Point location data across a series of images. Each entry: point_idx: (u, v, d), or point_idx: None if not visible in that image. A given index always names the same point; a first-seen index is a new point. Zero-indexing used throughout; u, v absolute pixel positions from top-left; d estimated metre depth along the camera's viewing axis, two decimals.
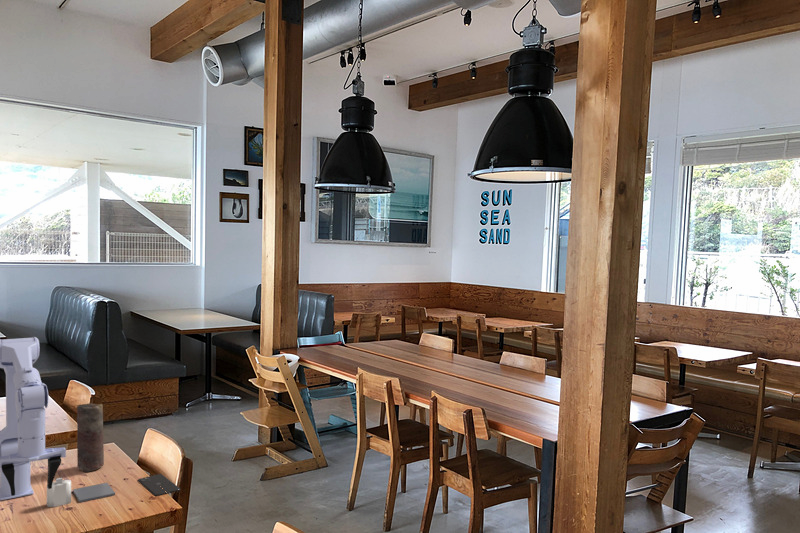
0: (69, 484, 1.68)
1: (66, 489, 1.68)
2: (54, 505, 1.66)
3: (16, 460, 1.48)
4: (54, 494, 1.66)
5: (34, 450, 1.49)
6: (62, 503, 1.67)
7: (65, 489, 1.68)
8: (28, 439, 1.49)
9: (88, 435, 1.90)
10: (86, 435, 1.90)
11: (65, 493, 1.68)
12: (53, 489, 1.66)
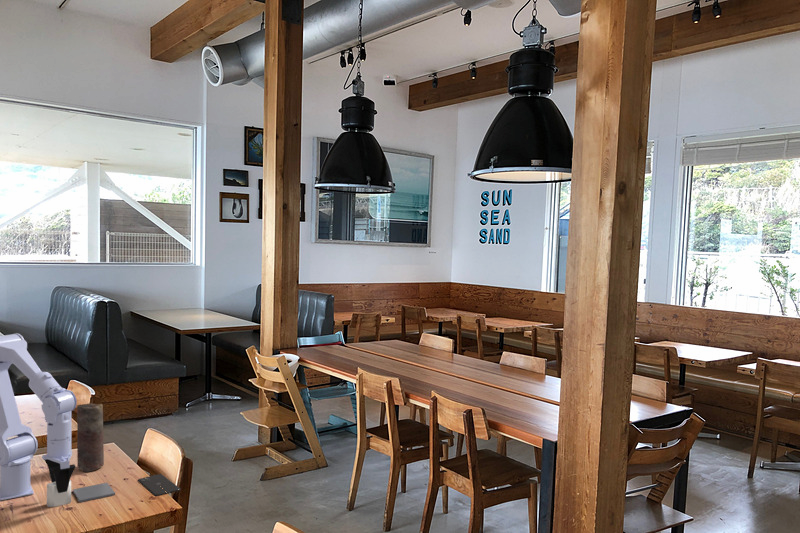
0: (69, 484, 1.68)
1: None
2: (54, 505, 1.66)
3: None
4: (54, 494, 1.66)
5: (47, 450, 1.65)
6: (62, 503, 1.67)
7: None
8: (47, 438, 1.66)
9: (88, 435, 1.90)
10: (86, 435, 1.90)
11: (65, 493, 1.68)
12: (53, 489, 1.66)
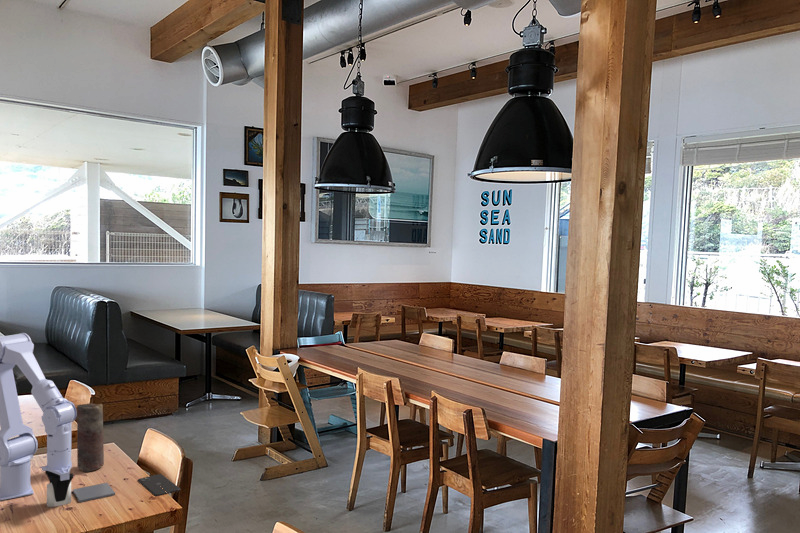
0: (69, 484, 1.68)
1: None
2: (54, 505, 1.66)
3: None
4: None
5: (47, 462, 1.65)
6: (62, 503, 1.67)
7: None
8: (47, 449, 1.66)
9: (88, 435, 1.90)
10: (86, 435, 1.90)
11: None
12: (53, 489, 1.66)
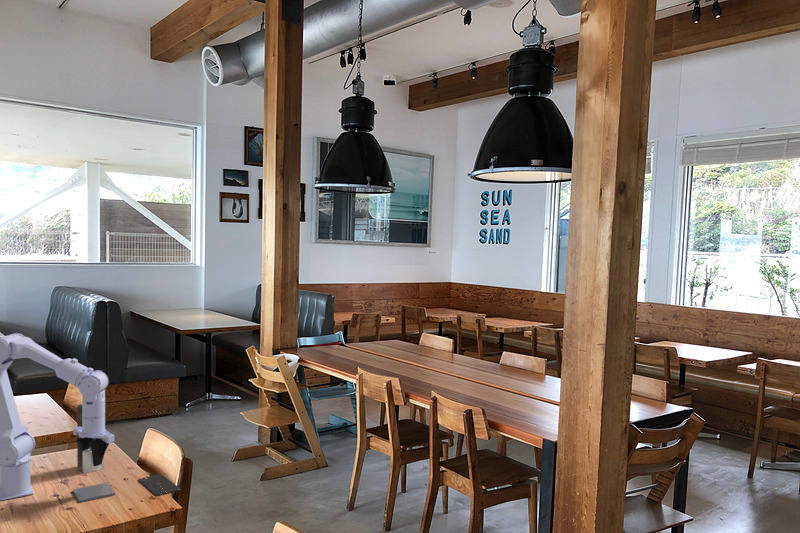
0: None
1: None
2: (92, 470, 1.73)
3: (79, 433, 1.74)
4: (92, 459, 1.73)
5: (85, 429, 1.72)
6: (98, 468, 1.75)
7: None
8: (82, 417, 1.72)
9: None
10: None
11: None
12: (91, 455, 1.72)
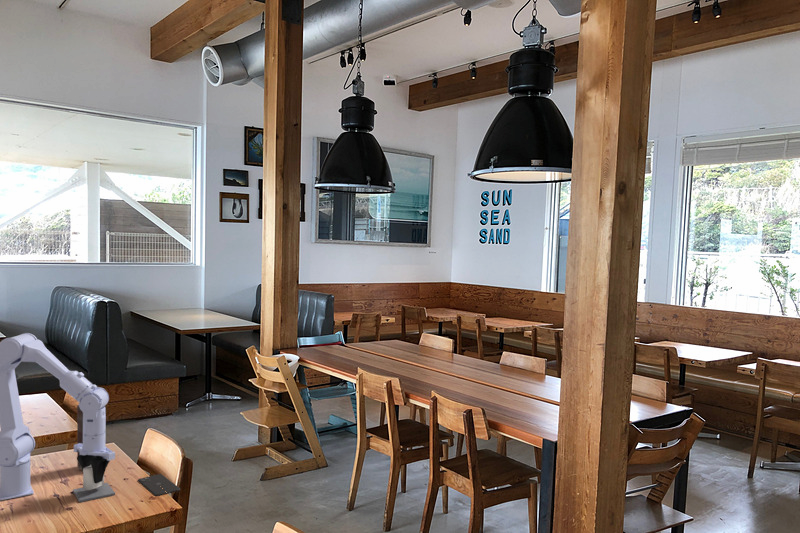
0: None
1: None
2: (93, 487, 1.73)
3: (79, 450, 1.74)
4: None
5: (86, 446, 1.72)
6: (99, 485, 1.75)
7: None
8: (83, 435, 1.72)
9: None
10: None
11: None
12: (92, 472, 1.73)
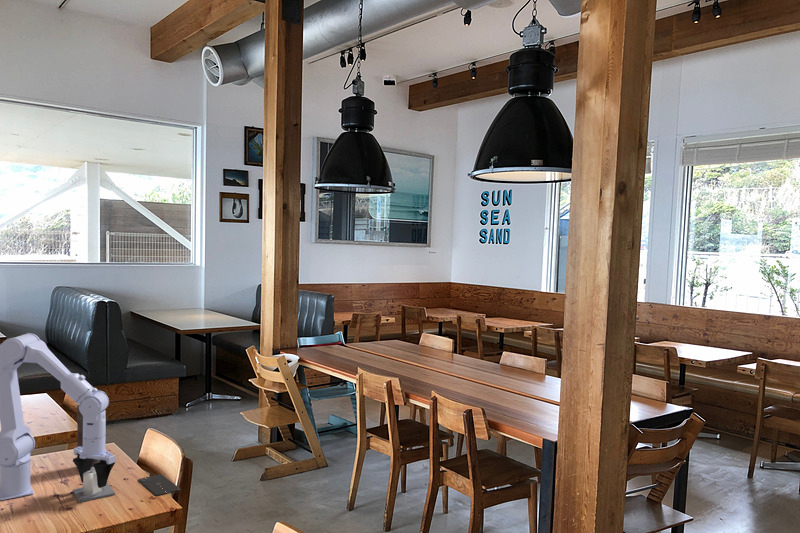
0: None
1: None
2: (92, 492, 1.73)
3: (79, 453, 1.74)
4: (93, 481, 1.73)
5: (86, 449, 1.72)
6: (99, 490, 1.75)
7: None
8: (83, 438, 1.73)
9: None
10: None
11: None
12: (92, 477, 1.73)
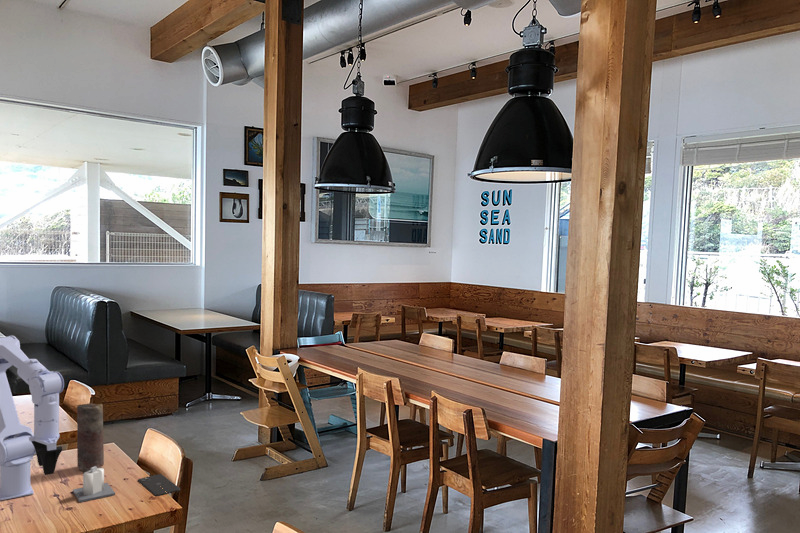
0: (103, 471, 1.76)
1: (102, 476, 1.76)
2: (92, 492, 1.73)
3: None
4: (93, 481, 1.73)
5: (34, 432, 1.63)
6: (99, 490, 1.75)
7: (101, 476, 1.75)
8: (34, 419, 1.64)
9: (88, 435, 1.90)
10: (86, 435, 1.90)
11: (101, 480, 1.76)
12: (92, 477, 1.73)
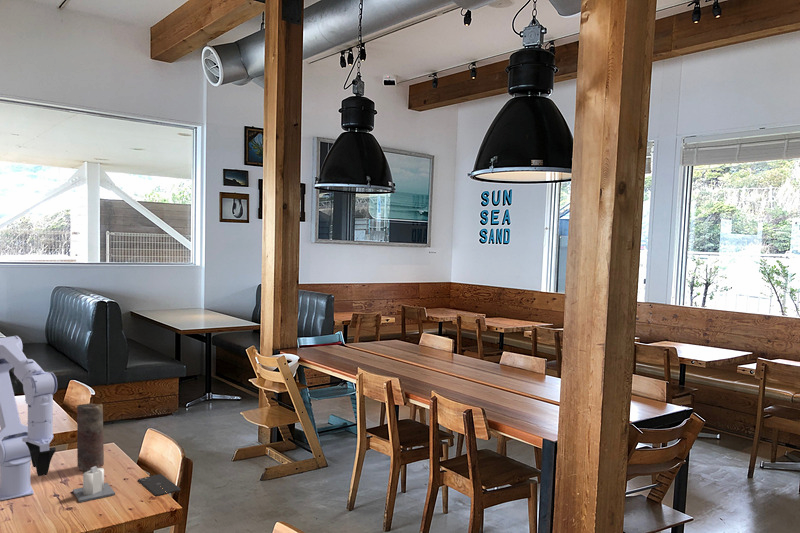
0: (103, 471, 1.76)
1: (102, 476, 1.76)
2: (92, 492, 1.73)
3: None
4: (93, 481, 1.73)
5: (28, 433, 1.62)
6: (99, 490, 1.75)
7: (101, 476, 1.75)
8: None
9: (88, 435, 1.90)
10: (86, 435, 1.90)
11: (101, 480, 1.76)
12: (92, 477, 1.73)
